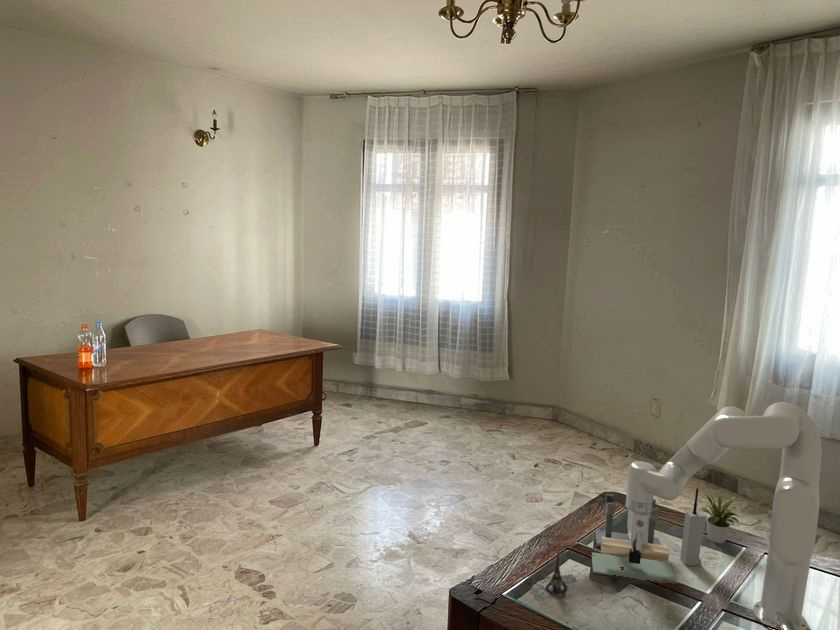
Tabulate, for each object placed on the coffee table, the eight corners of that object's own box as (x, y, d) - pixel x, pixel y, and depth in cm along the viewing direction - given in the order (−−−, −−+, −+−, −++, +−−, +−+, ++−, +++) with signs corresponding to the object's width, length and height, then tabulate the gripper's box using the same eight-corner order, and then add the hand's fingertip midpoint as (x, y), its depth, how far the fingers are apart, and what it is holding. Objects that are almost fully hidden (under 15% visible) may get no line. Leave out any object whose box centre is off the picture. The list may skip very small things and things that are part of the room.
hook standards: (662, 555, 190) (666, 511, 187) (597, 546, 194) (600, 503, 191) (658, 541, 198) (662, 499, 195) (595, 533, 202) (598, 492, 199)
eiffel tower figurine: (573, 575, 180) (576, 535, 177) (587, 597, 170) (591, 555, 167) (525, 580, 177) (527, 539, 175) (537, 602, 167) (539, 559, 165)
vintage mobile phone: (701, 566, 185) (710, 491, 180) (685, 565, 185) (693, 491, 180) (695, 559, 188) (704, 485, 183) (680, 558, 188) (688, 485, 183)
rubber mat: (678, 585, 175) (678, 583, 175) (593, 572, 180) (593, 571, 180) (671, 565, 185) (672, 563, 185) (591, 554, 190) (591, 552, 190)
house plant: (692, 546, 195) (697, 500, 192) (686, 524, 208) (691, 481, 205) (740, 554, 191) (746, 507, 188) (732, 532, 204) (737, 487, 201)
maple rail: (667, 562, 178) (669, 553, 177) (601, 552, 182) (602, 543, 181) (665, 554, 182) (666, 545, 181) (600, 545, 186) (601, 536, 185)
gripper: (656, 519, 170) (650, 576, 173) (648, 491, 186) (642, 544, 189) (629, 515, 171) (623, 572, 175) (623, 488, 187) (617, 541, 191)
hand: (633, 557), depth 182 cm, fingers closed on maple rail, 4 cm apart
